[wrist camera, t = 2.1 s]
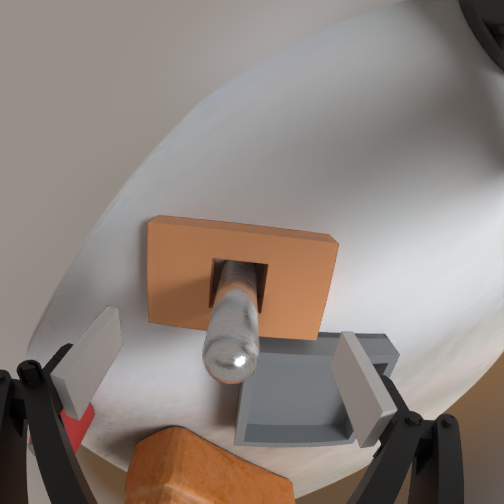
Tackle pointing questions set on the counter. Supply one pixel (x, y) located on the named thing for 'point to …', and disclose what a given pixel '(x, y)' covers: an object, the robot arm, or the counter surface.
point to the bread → (198, 474)
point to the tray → (301, 392)
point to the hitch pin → (233, 326)
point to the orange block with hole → (240, 249)
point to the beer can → (74, 428)
